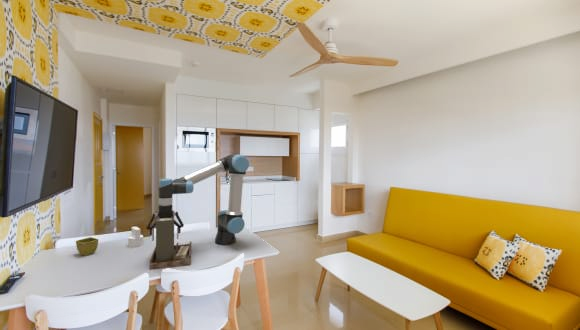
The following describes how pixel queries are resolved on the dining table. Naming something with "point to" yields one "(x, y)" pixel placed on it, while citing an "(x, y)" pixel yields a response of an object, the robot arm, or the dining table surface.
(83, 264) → the dining table surface
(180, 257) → the offcut top
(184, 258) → the block
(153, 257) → the rack
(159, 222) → the book
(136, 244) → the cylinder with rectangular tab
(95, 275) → the dining table surface
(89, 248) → the flower pot
